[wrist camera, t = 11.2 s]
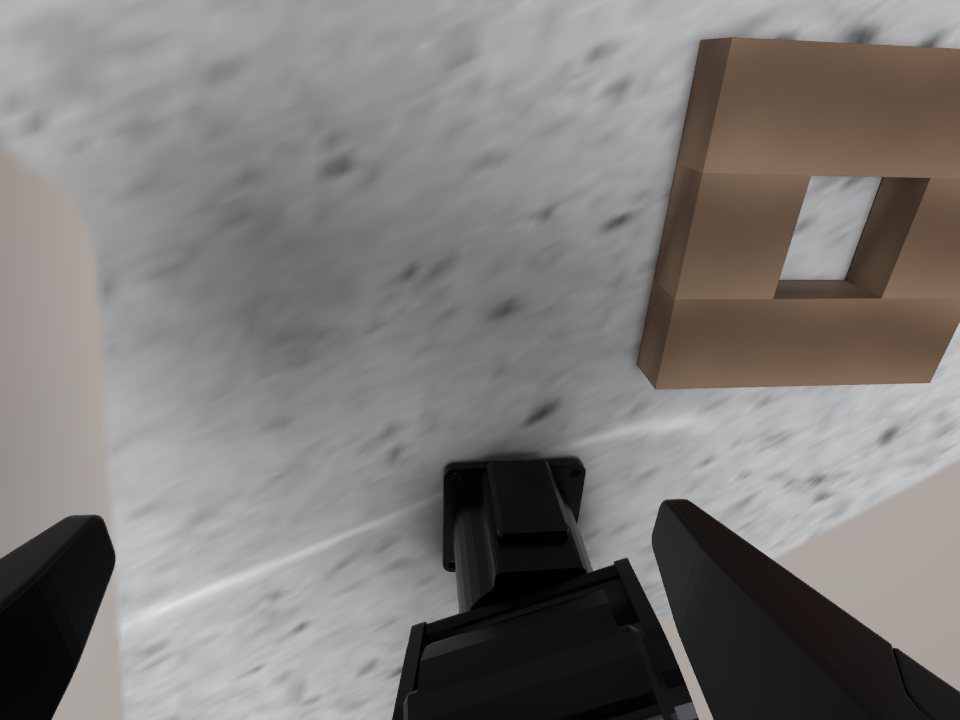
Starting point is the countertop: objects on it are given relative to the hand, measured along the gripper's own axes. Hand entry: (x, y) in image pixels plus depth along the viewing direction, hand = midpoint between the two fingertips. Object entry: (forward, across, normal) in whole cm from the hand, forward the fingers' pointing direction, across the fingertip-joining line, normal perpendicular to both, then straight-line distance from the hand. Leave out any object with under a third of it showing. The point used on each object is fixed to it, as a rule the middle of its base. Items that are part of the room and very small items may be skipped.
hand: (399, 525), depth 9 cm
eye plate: (+13, -16, -2) cm, 20 cm away
